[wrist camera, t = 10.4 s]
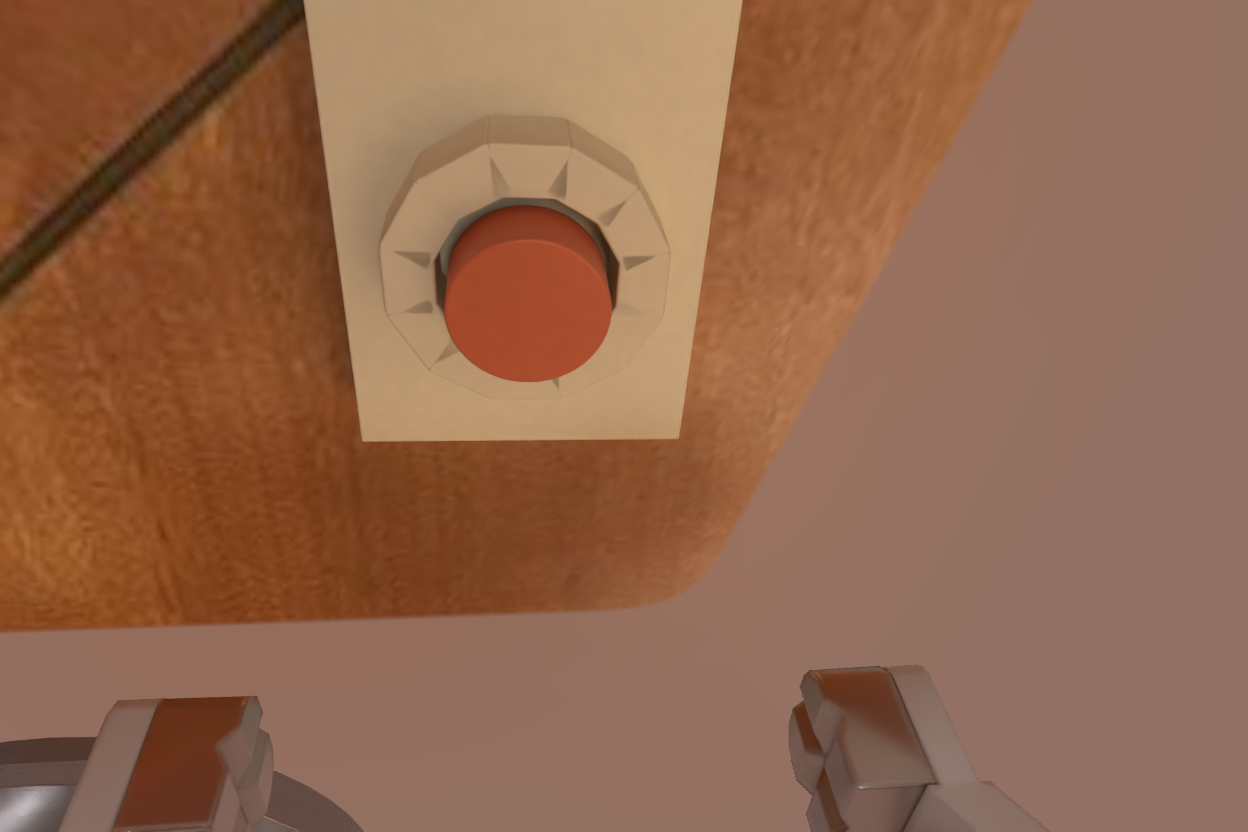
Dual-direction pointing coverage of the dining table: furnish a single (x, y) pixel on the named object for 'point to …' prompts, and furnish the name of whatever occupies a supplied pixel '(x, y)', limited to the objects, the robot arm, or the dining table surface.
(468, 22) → the button box
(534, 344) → the button
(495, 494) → the dining table surface
